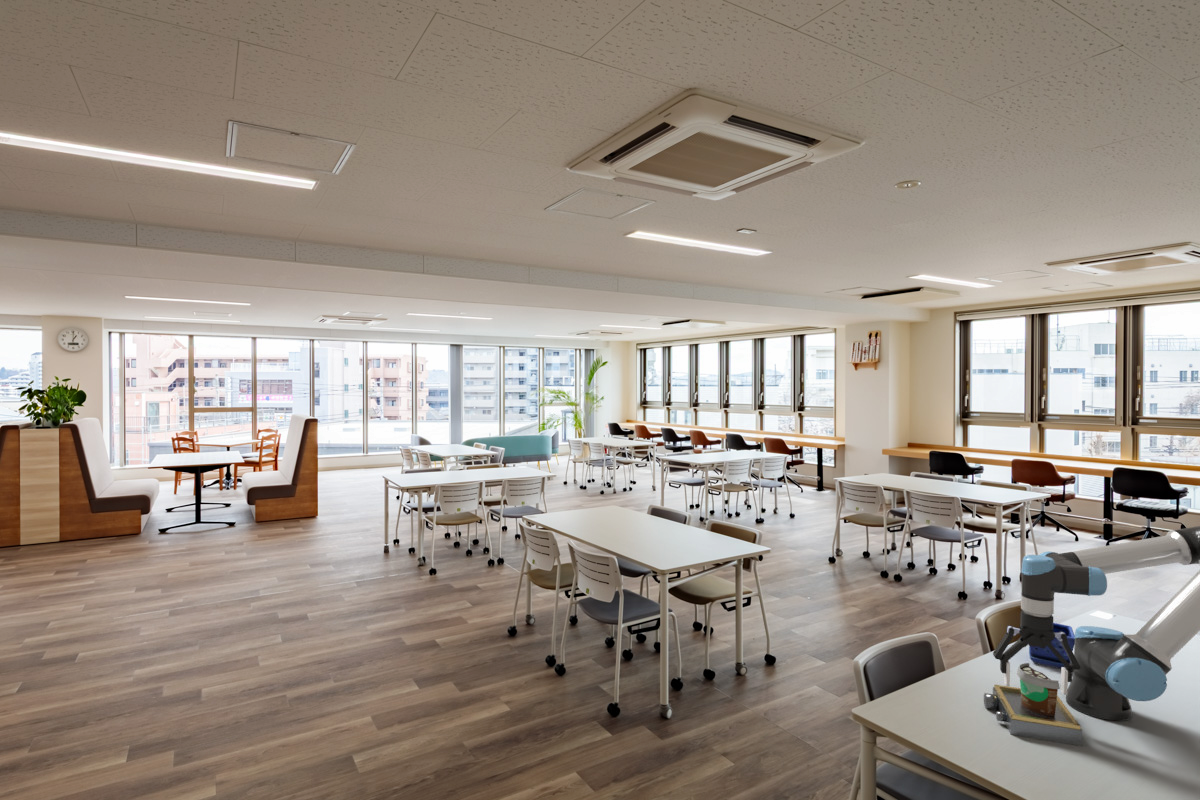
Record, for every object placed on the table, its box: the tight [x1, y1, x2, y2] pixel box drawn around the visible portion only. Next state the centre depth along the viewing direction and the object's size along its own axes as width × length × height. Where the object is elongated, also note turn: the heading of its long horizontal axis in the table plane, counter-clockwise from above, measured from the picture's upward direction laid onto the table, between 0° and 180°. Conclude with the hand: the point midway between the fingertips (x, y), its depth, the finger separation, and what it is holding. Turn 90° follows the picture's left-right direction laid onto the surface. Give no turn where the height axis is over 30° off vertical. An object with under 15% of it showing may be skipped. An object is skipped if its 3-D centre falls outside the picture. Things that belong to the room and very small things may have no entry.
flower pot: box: [1028, 622, 1075, 669], centre depth 220 cm, size 13×13×12 cm
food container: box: [1016, 662, 1061, 716], centre depth 180 cm, size 12×6×10 cm, turn 2°
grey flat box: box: [983, 684, 1083, 747], centre depth 180 cm, size 19×20×5 cm
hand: (1035, 688), depth 180 cm, fingers open, 13 cm apart
